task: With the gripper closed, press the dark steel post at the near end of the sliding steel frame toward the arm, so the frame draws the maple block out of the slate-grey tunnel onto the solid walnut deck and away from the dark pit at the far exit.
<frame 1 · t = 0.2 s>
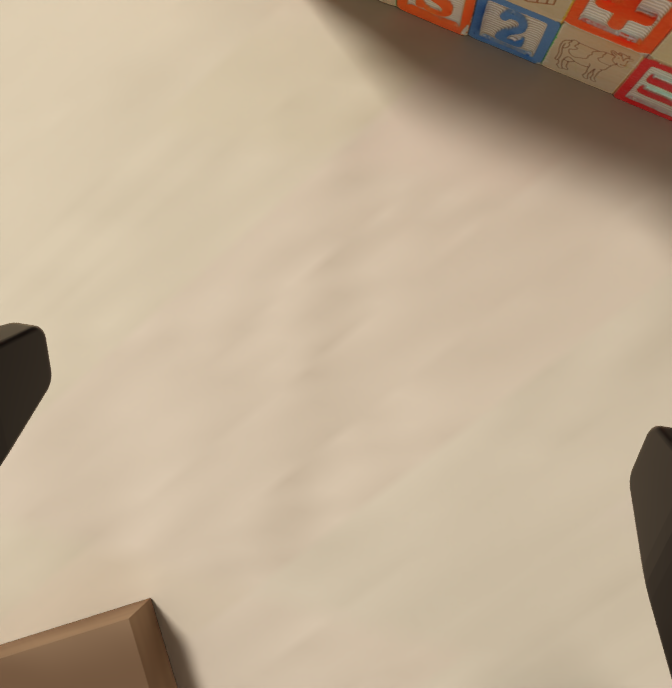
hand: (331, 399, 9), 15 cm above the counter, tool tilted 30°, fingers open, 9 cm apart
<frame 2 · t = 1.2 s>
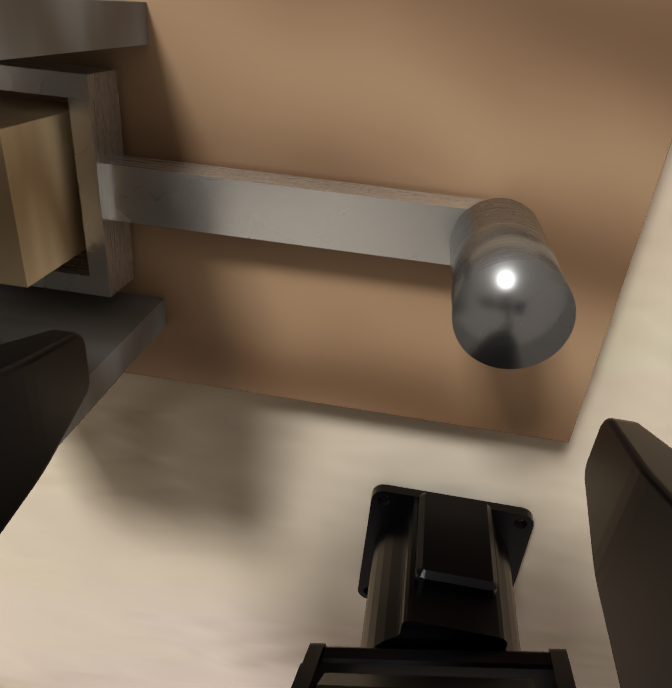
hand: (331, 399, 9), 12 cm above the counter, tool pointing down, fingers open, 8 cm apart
tunnel deck: (67, 155, 20), on the counter
maple block: (33, 168, 19), point 2 cm above the counter, touching tunnel deck
sled: (184, 223, 15), point 5 cm above the counter, slide at 0.0 cm
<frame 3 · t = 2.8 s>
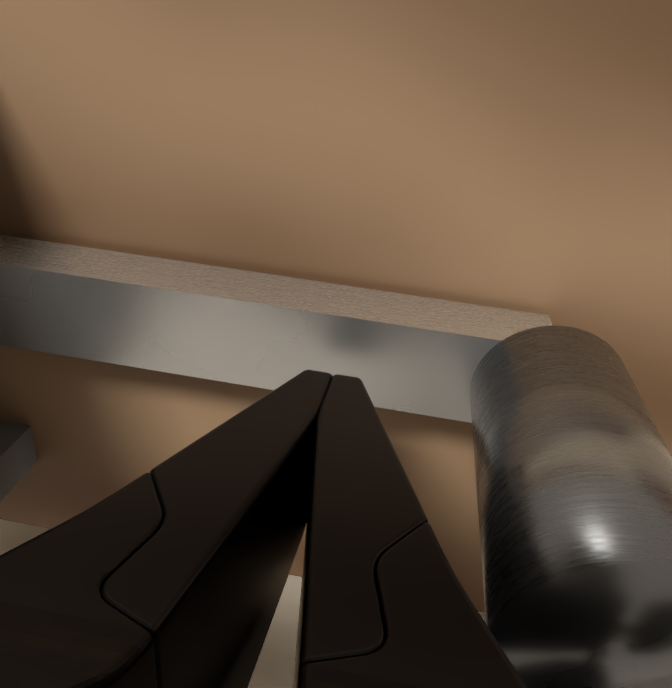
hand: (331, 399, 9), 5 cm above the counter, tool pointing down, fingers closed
sled: (12, 368, 9), point 5 cm above the counter, slide at -0.2 cm, touching gripper
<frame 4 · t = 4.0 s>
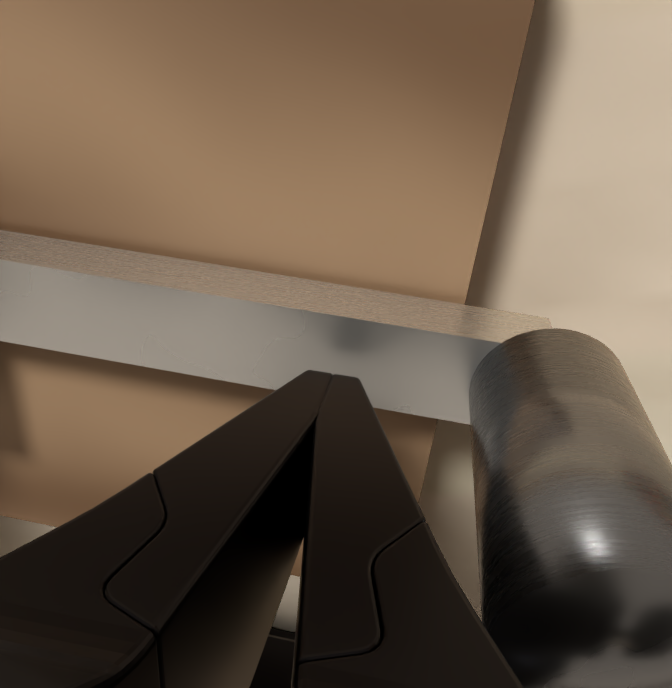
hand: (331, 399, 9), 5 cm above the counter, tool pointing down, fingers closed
sled: (9, 364, 9), point 5 cm above the counter, slide at -5.4 cm, touching gripper, maple block
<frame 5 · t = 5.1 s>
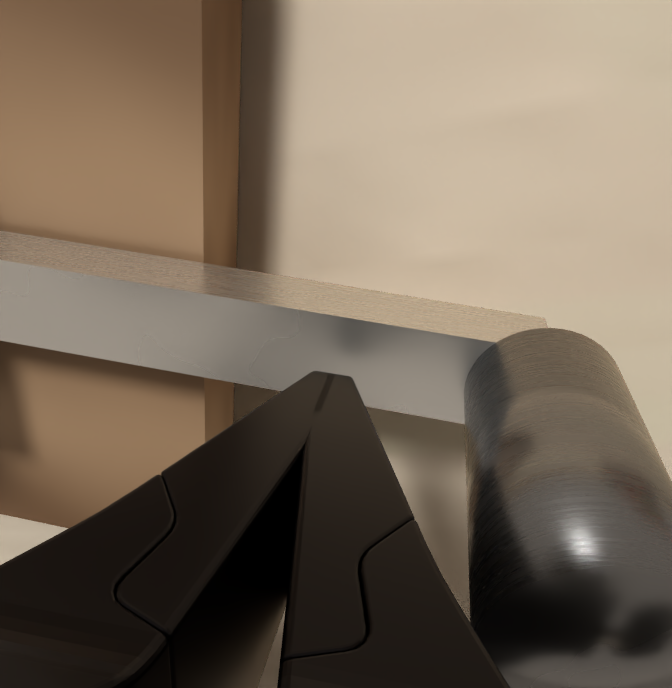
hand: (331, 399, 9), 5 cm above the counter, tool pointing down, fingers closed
sled: (6, 363, 9), point 5 cm above the counter, slide at -10.1 cm, touching gripper, maple block
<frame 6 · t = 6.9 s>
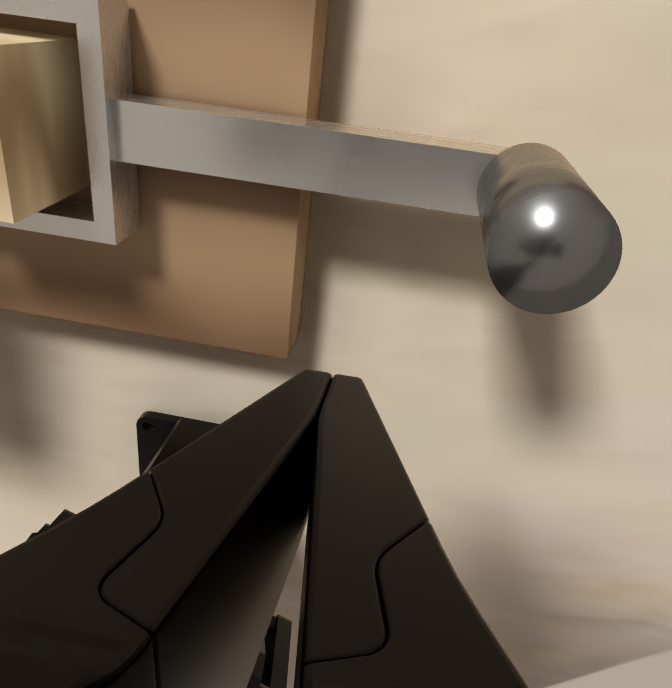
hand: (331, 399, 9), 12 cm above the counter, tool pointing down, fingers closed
maple block: (23, 105, 18), point 2 cm above the counter, touching tunnel deck
sled: (198, 160, 15), point 5 cm above the counter, slide at -10.0 cm
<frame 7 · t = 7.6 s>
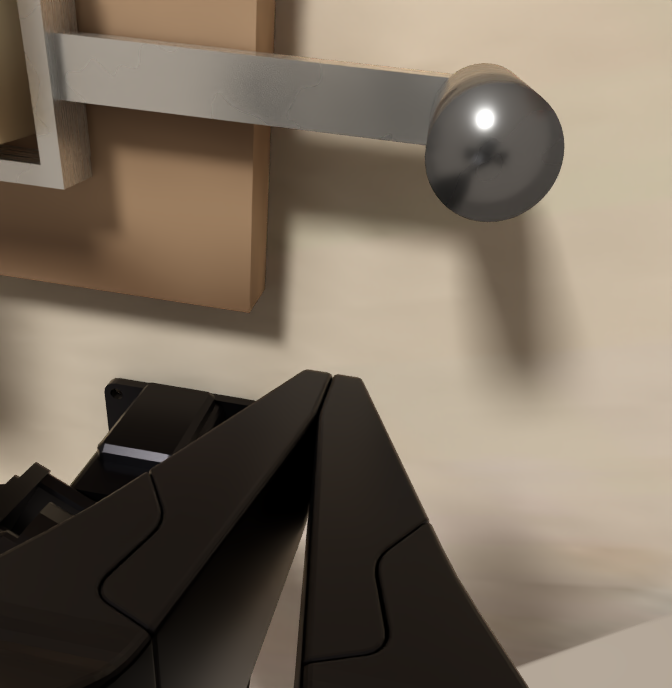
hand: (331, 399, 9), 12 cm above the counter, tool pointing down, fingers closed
sled: (137, 87, 14), point 5 cm above the counter, slide at -10.0 cm
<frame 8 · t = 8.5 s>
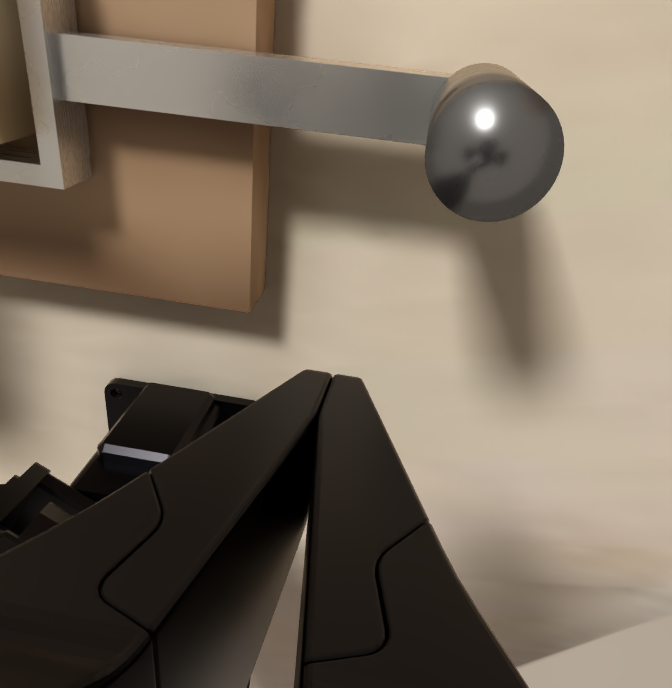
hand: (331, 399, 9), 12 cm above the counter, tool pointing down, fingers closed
sled: (137, 87, 14), point 5 cm above the counter, slide at -10.0 cm
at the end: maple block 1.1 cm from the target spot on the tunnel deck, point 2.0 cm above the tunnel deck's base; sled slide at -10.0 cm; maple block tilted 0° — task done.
